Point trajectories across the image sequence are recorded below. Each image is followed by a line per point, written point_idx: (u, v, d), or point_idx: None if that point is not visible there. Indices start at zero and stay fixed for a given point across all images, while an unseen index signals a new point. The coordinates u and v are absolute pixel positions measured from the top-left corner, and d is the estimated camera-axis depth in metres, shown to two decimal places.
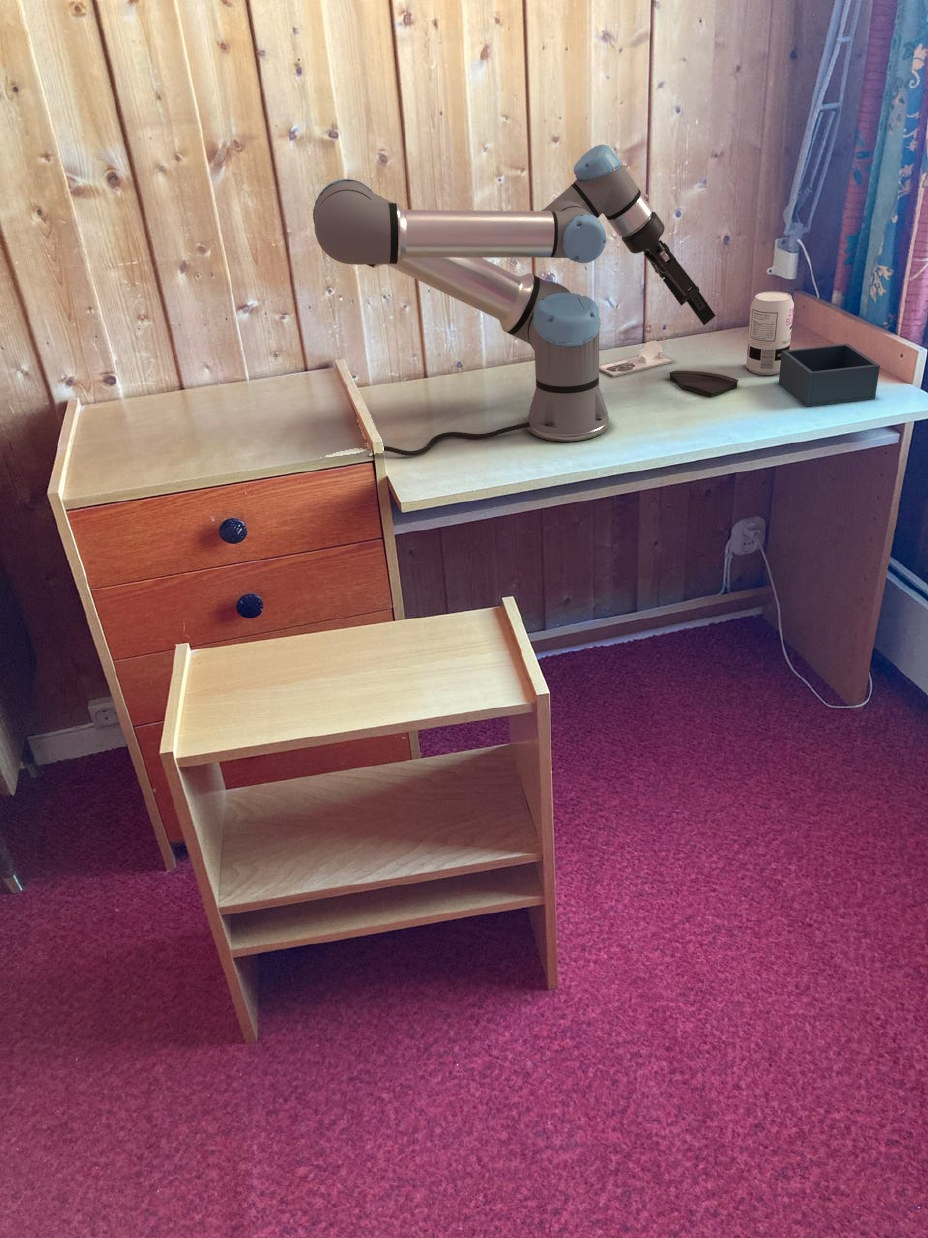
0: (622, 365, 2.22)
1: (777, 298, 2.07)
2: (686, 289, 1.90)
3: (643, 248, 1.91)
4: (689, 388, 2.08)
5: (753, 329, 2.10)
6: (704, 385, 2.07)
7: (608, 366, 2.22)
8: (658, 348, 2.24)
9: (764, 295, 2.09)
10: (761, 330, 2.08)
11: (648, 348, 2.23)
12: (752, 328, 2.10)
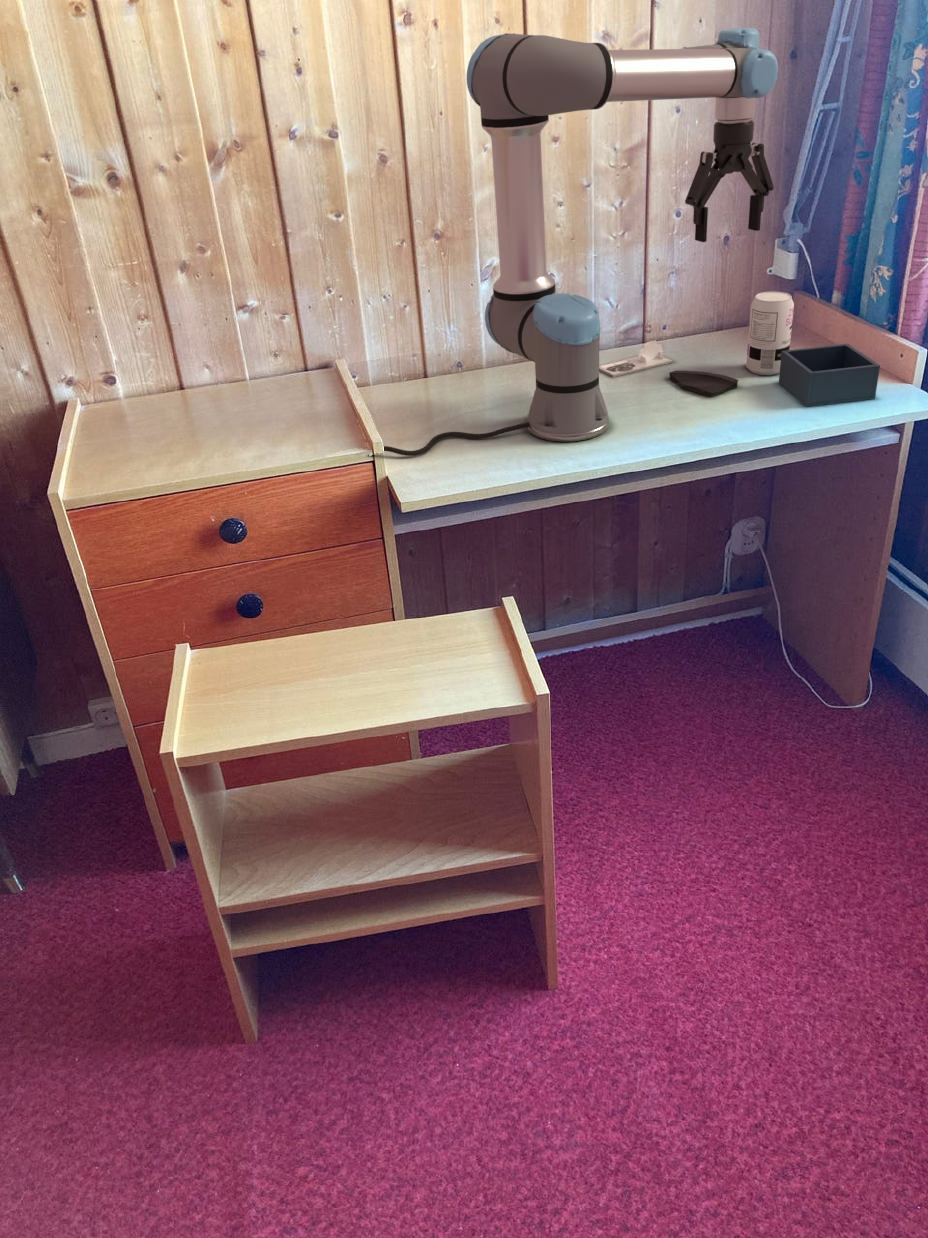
0: (622, 365, 2.22)
1: (777, 298, 2.07)
2: None
3: None
4: (689, 388, 2.08)
5: (753, 329, 2.10)
6: (704, 385, 2.07)
7: (608, 366, 2.22)
8: (658, 348, 2.24)
9: (764, 295, 2.09)
10: (761, 330, 2.08)
11: (648, 348, 2.23)
12: (752, 328, 2.10)
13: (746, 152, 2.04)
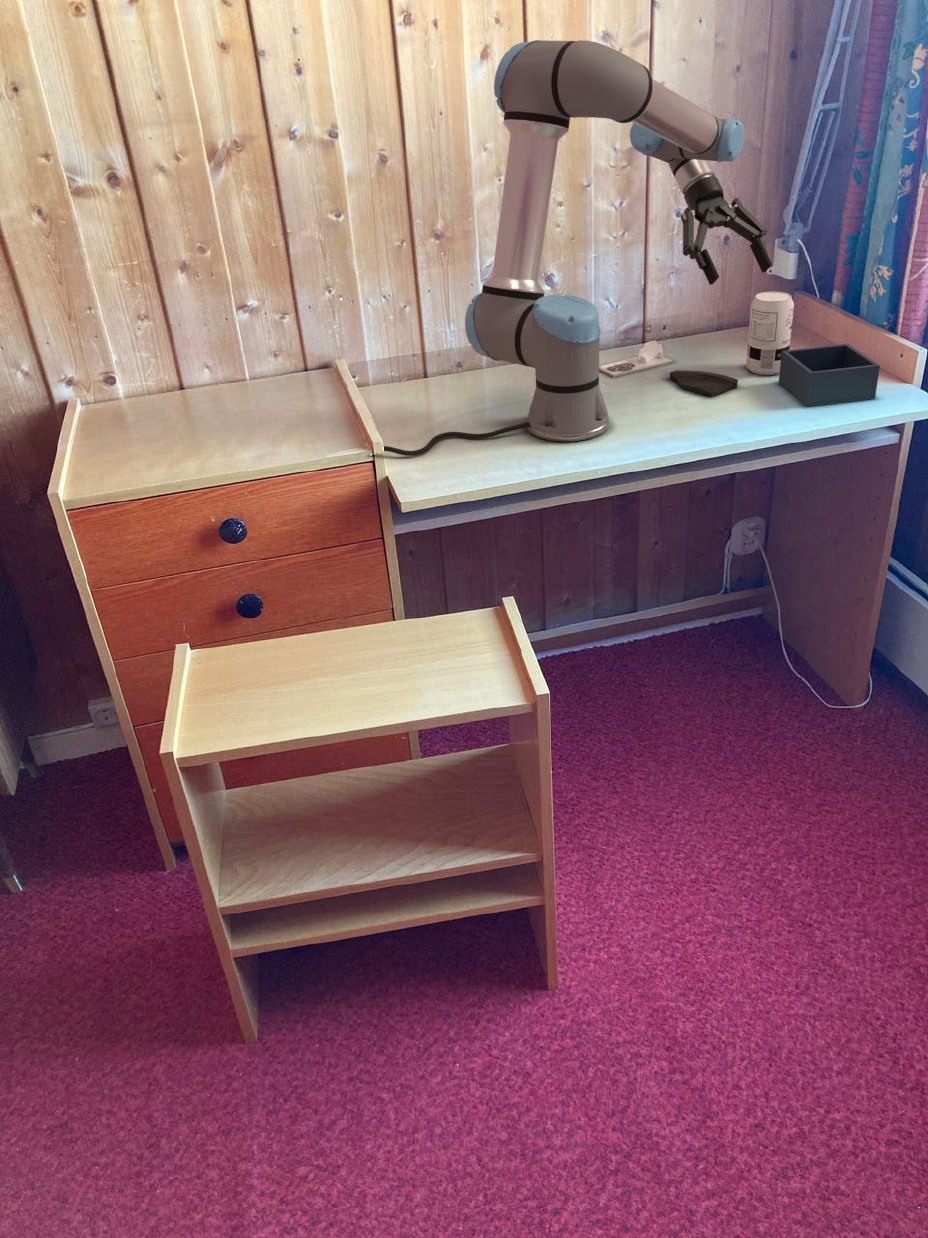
0: (622, 365, 2.22)
1: (777, 298, 2.07)
2: None
3: None
4: (689, 388, 2.08)
5: (753, 329, 2.10)
6: (704, 385, 2.07)
7: (608, 366, 2.22)
8: (658, 348, 2.24)
9: (764, 295, 2.09)
10: (761, 330, 2.08)
11: (648, 348, 2.23)
12: (752, 328, 2.10)
13: (724, 205, 2.16)
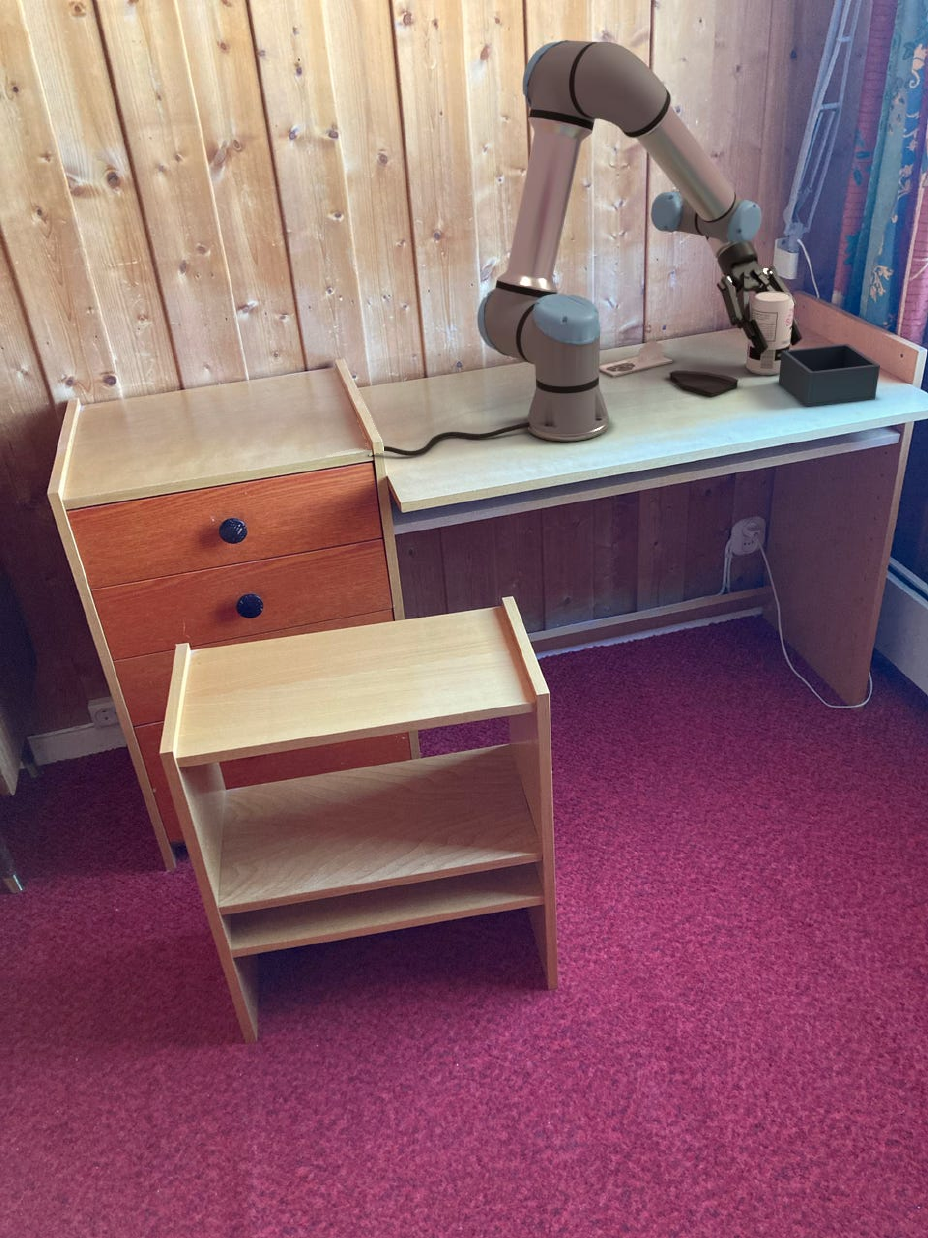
0: (622, 365, 2.22)
1: (777, 298, 2.07)
2: (792, 299, 2.14)
3: None
4: (689, 388, 2.08)
5: None
6: (704, 385, 2.07)
7: (608, 366, 2.22)
8: (658, 348, 2.24)
9: (764, 295, 2.09)
10: (761, 330, 2.08)
11: (648, 348, 2.23)
12: None
13: (758, 269, 2.13)
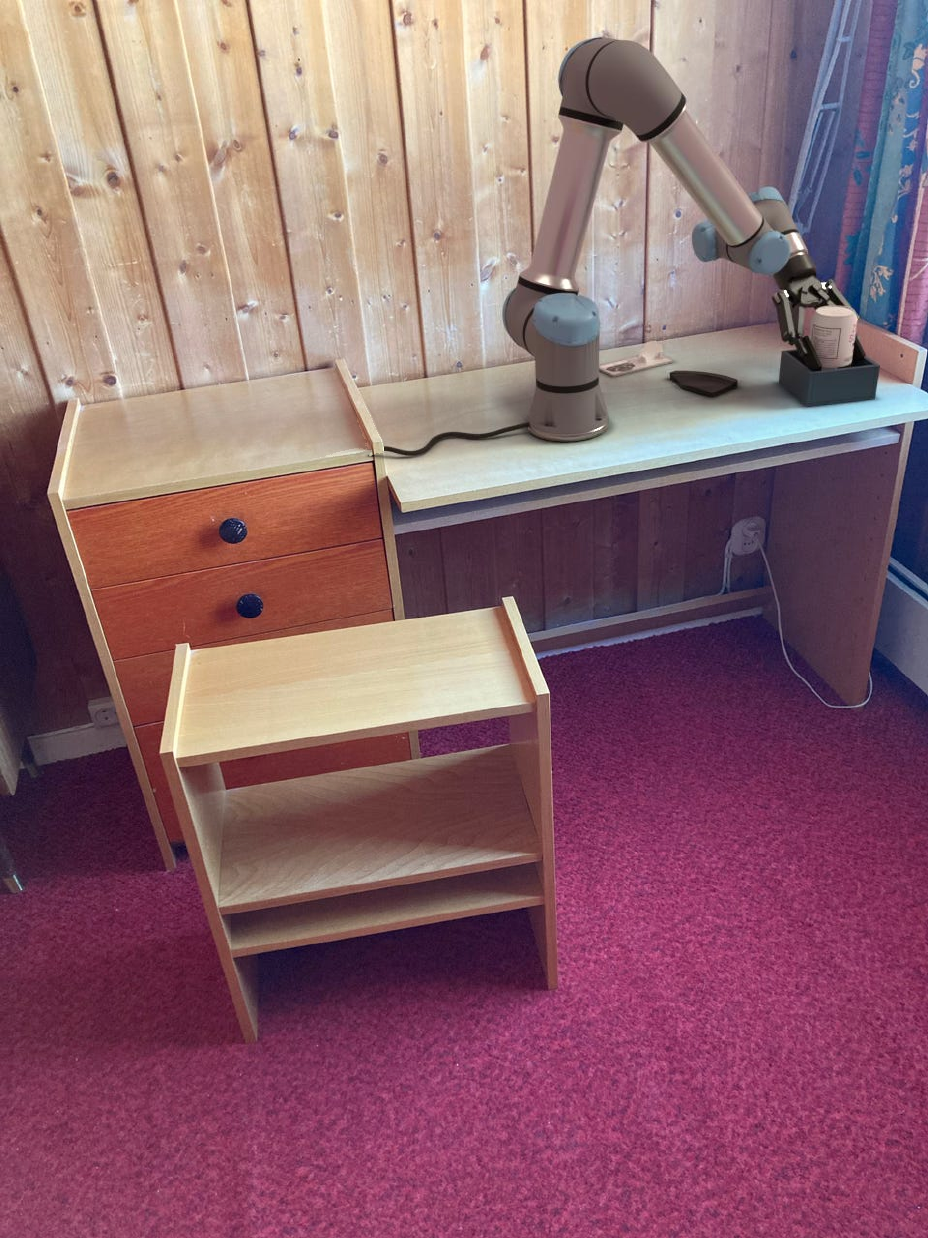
0: (622, 365, 2.22)
1: (840, 313, 1.94)
2: None
3: None
4: (689, 388, 2.08)
5: (813, 345, 1.97)
6: (704, 385, 2.07)
7: (608, 366, 2.22)
8: (658, 348, 2.24)
9: (825, 309, 1.97)
10: (822, 347, 1.96)
11: (648, 348, 2.23)
12: (813, 345, 1.98)
13: (816, 284, 2.00)
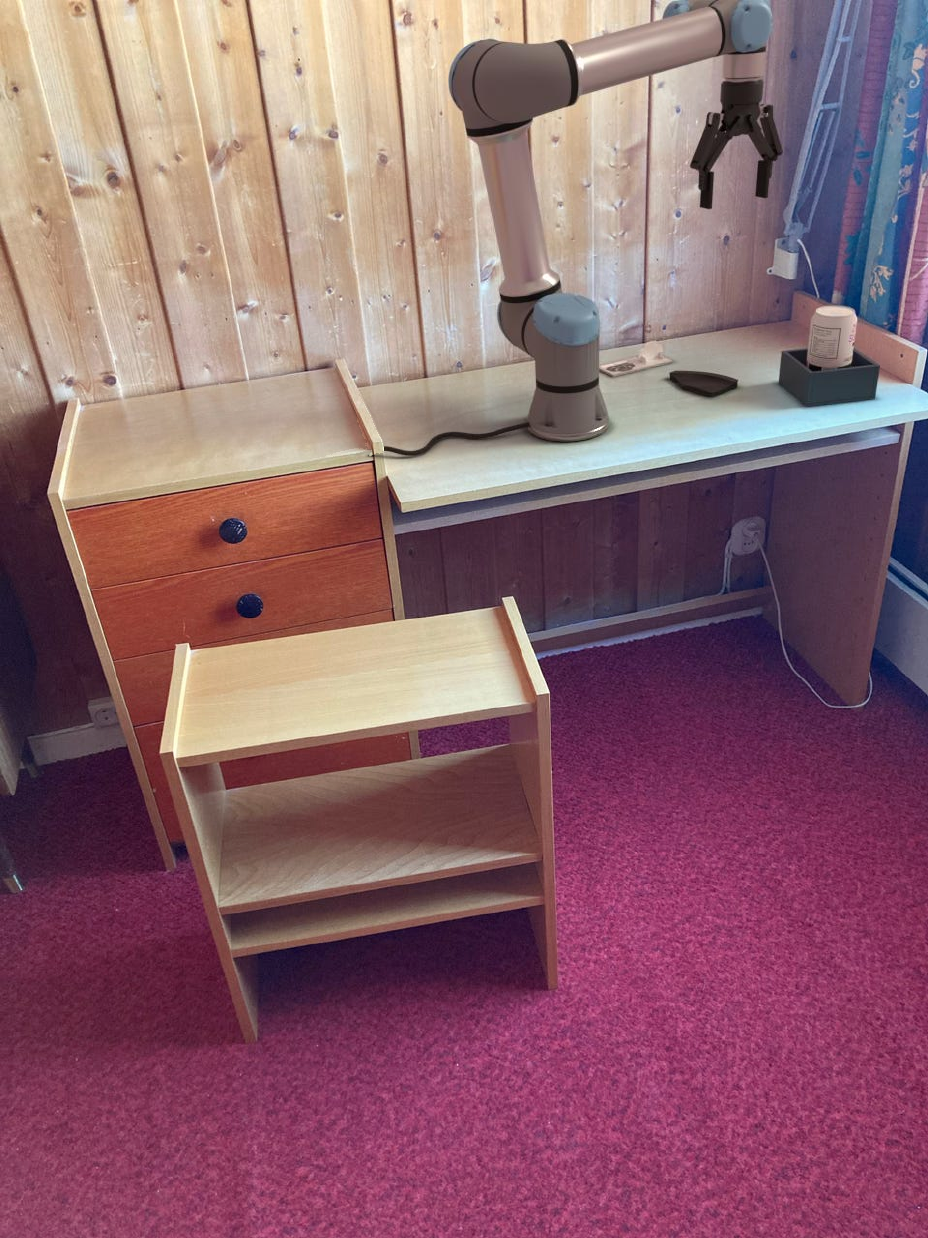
0: (622, 365, 2.22)
1: (840, 313, 1.94)
2: None
3: None
4: (689, 388, 2.08)
5: (813, 345, 1.97)
6: (704, 385, 2.07)
7: (608, 366, 2.22)
8: (658, 348, 2.24)
9: (825, 309, 1.97)
10: (822, 347, 1.96)
11: (648, 348, 2.23)
12: (812, 345, 1.98)
13: (755, 113, 1.93)
